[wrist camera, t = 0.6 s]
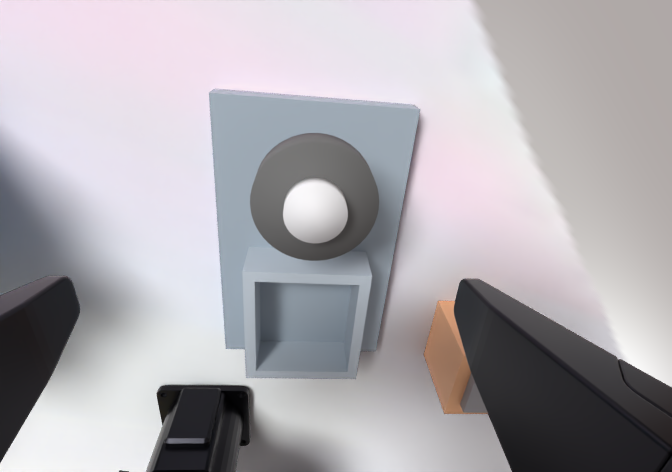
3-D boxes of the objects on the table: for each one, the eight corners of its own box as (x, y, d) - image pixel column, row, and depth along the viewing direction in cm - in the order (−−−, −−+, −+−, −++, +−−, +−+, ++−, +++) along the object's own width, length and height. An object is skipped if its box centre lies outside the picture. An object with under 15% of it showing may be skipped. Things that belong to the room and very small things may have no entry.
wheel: (366, 246, 18) (373, 273, 16) (254, 241, 17) (248, 269, 15) (381, 137, 15) (392, 153, 13) (253, 128, 15) (245, 144, 13)
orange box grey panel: (475, 354, 29) (509, 422, 24) (423, 354, 29) (447, 422, 24) (494, 301, 27) (535, 364, 22) (437, 300, 26) (467, 363, 21)
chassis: (373, 338, 28) (381, 380, 24) (229, 335, 27) (218, 379, 23) (414, 104, 20) (434, 120, 17) (214, 88, 19) (195, 102, 16)
